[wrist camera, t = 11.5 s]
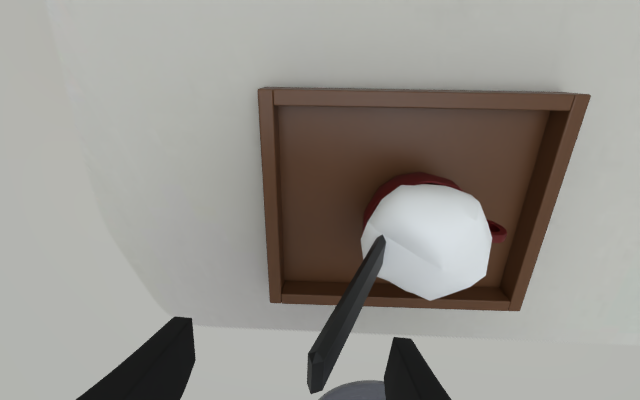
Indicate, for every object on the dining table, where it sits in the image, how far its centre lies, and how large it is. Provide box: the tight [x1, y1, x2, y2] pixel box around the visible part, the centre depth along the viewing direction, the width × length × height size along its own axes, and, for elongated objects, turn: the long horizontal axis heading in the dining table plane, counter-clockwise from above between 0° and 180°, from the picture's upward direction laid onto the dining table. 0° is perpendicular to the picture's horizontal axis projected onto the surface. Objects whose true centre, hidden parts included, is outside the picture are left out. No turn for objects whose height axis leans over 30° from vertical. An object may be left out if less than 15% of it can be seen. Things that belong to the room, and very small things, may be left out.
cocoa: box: [307, 172, 507, 394], centre depth 14 cm, size 10×6×12 cm, turn 66°
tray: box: [258, 87, 591, 311], centre depth 19 cm, size 17×14×2 cm
